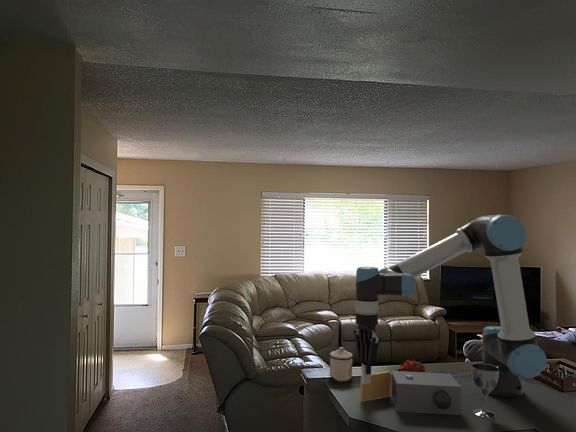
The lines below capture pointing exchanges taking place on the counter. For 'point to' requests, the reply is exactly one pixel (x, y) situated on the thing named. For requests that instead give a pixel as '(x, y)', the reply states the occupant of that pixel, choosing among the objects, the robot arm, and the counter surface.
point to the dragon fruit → (411, 366)
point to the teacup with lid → (341, 364)
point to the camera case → (425, 393)
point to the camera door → (376, 386)
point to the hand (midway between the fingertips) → (366, 383)
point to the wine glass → (485, 385)
